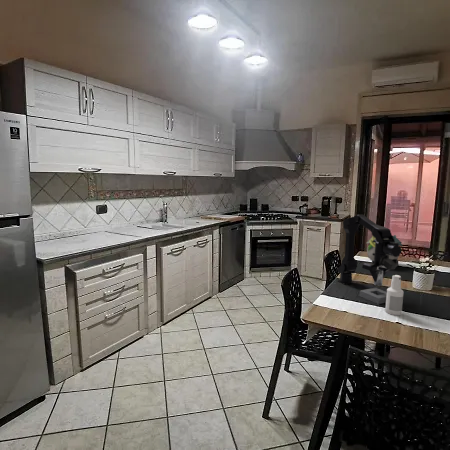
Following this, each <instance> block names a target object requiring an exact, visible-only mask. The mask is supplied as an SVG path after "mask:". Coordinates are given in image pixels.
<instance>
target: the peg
mask: <svg viewBox="0 0 450 450" xmlns="http://www.w3.org/2000/svg"><path fill="white" fill-rule="evenodd" d="M378 270H380V271H379V272H378V276H377V281H376V282H375V281H374V280H373V285H374V286H377V287H382V286H383V280H384V278H383V270H381V269H378Z"/></svg>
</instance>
